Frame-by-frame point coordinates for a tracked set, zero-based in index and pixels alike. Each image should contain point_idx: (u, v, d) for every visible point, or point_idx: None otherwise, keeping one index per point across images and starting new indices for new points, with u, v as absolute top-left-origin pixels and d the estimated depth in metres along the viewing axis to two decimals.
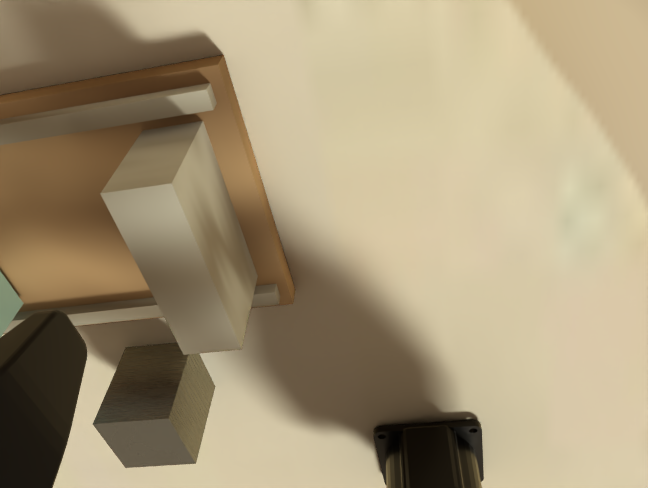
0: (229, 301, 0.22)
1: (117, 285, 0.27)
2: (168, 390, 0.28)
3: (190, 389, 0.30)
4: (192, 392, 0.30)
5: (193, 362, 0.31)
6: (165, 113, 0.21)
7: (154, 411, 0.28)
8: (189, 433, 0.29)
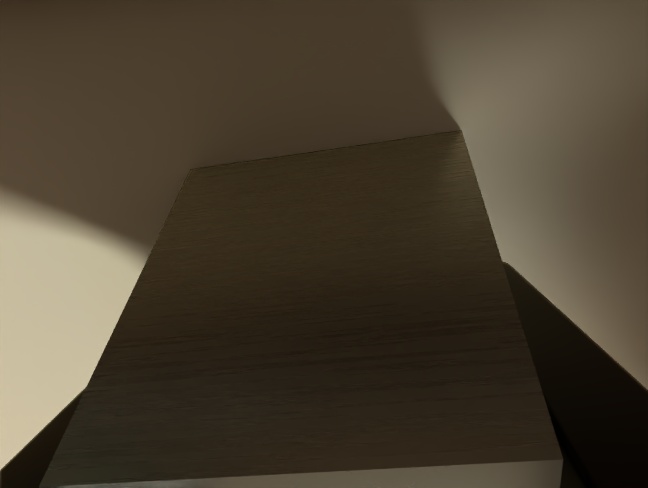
0: None
1: None
2: (457, 296, 0.05)
3: None
4: None
5: None
6: None
7: (425, 409, 0.04)
8: None
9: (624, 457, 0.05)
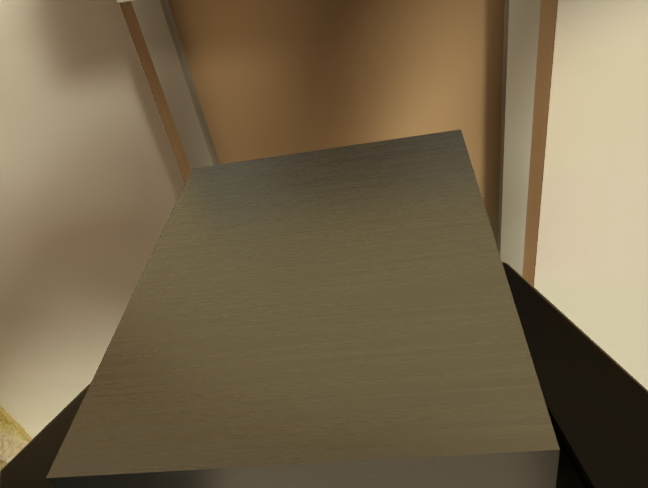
0: None
1: (467, 77, 0.17)
2: (457, 292, 0.05)
3: None
4: None
5: None
6: None
7: (424, 402, 0.04)
8: None
9: (623, 457, 0.05)
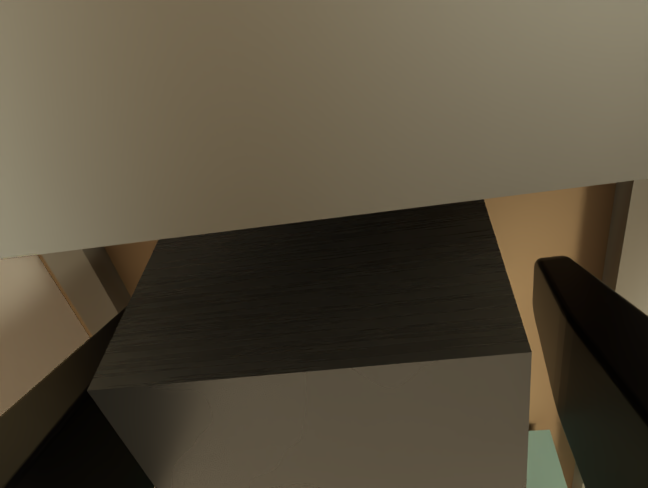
0: None
1: (548, 254, 0.10)
2: (446, 234, 0.06)
3: None
4: None
5: None
6: None
7: (417, 321, 0.05)
8: None
9: None
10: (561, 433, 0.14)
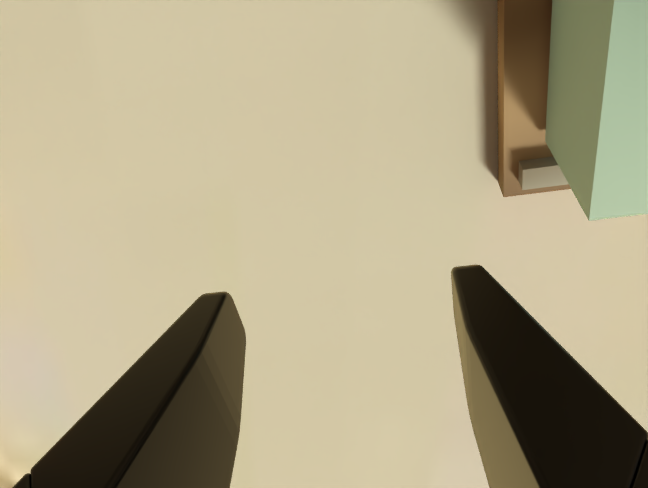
0: None
1: None
2: None
3: None
4: None
5: None
6: None
7: None
8: None
9: (579, 460, 0.05)
10: None
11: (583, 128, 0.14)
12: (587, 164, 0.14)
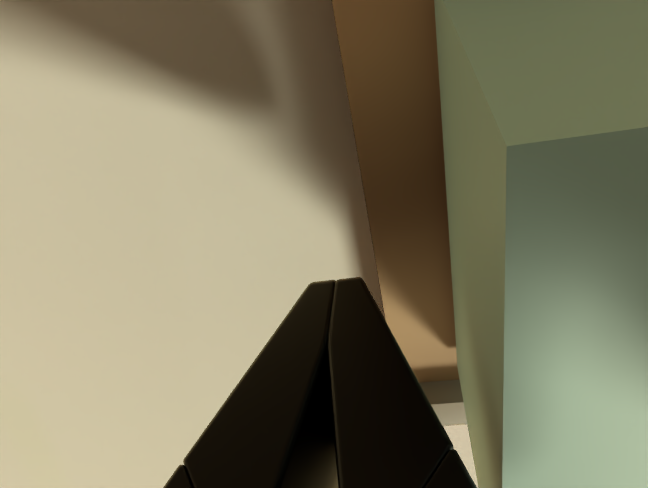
0: None
1: None
2: None
3: None
4: None
5: None
6: None
7: None
8: None
9: (381, 470, 0.05)
10: None
11: (485, 464, 0.08)
12: None
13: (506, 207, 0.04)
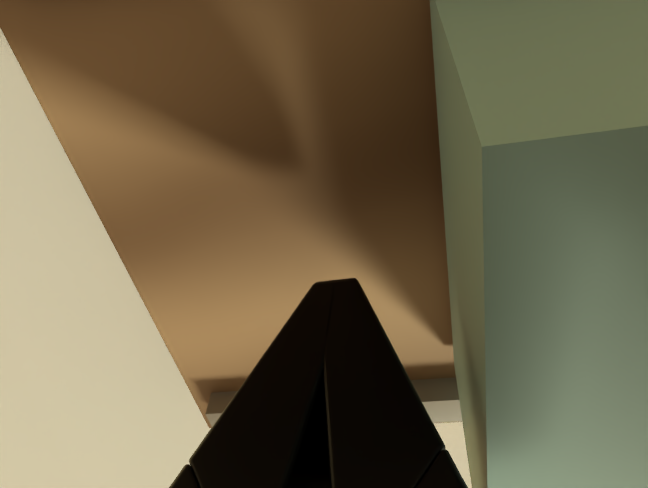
0: None
1: None
2: None
3: None
4: None
5: None
6: None
7: None
8: None
9: (372, 470, 0.05)
10: None
11: (476, 459, 0.08)
12: None
13: (483, 205, 0.04)
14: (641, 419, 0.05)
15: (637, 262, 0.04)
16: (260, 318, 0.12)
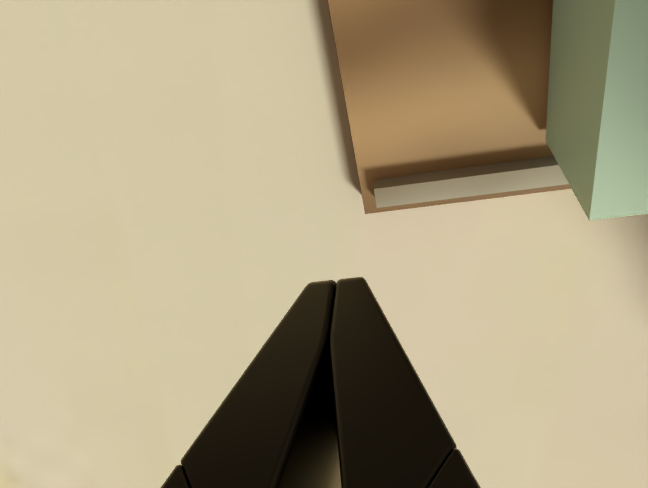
0: None
1: None
2: None
3: None
4: None
5: None
6: None
7: None
8: None
9: (384, 470, 0.05)
10: (447, 159, 0.19)
11: (584, 128, 0.14)
12: (588, 164, 0.14)
13: None
14: None
15: None
16: (420, 111, 0.18)
